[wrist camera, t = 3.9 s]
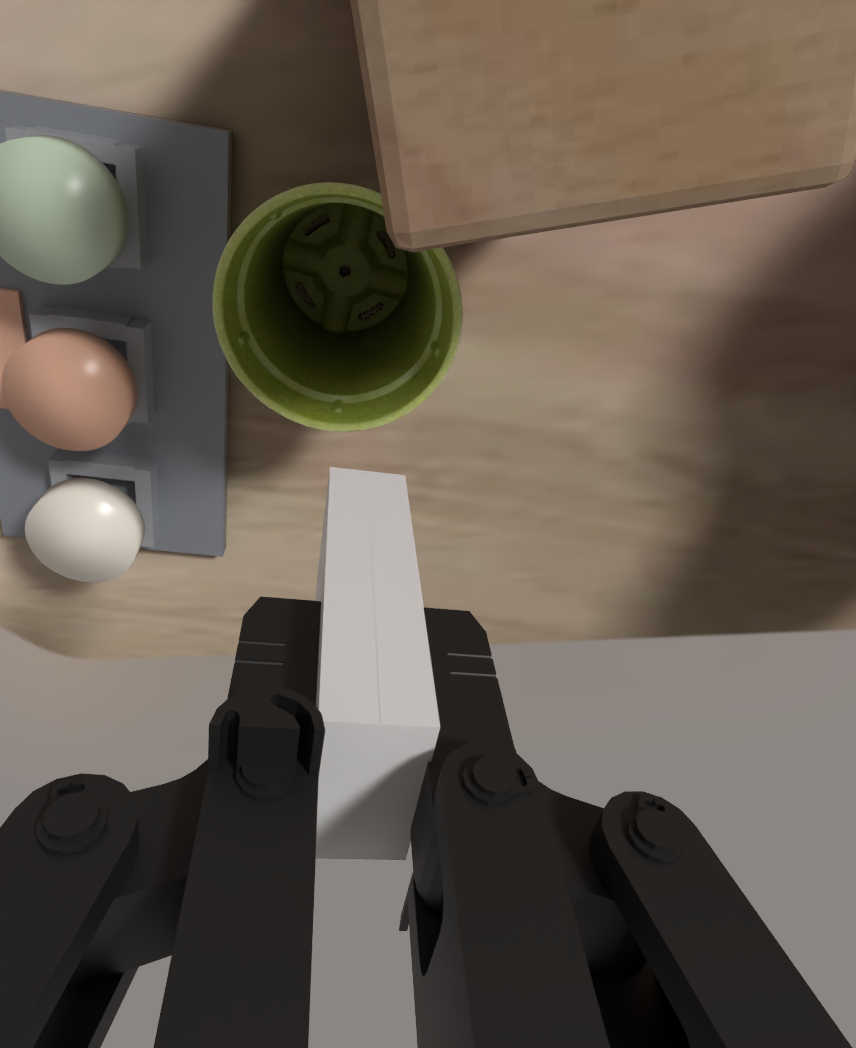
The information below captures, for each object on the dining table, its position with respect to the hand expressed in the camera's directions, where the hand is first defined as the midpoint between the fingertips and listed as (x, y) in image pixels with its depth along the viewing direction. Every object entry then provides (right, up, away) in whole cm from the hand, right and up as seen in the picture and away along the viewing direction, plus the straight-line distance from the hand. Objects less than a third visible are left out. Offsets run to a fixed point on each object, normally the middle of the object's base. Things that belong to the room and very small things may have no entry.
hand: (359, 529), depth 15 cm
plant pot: (-2, +13, +20) cm, 24 cm away
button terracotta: (-15, +7, +19) cm, 25 cm away
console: (-15, +9, +21) cm, 27 cm away
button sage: (-13, +14, +15) cm, 24 cm away
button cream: (-16, +1, +23) cm, 28 cm away
